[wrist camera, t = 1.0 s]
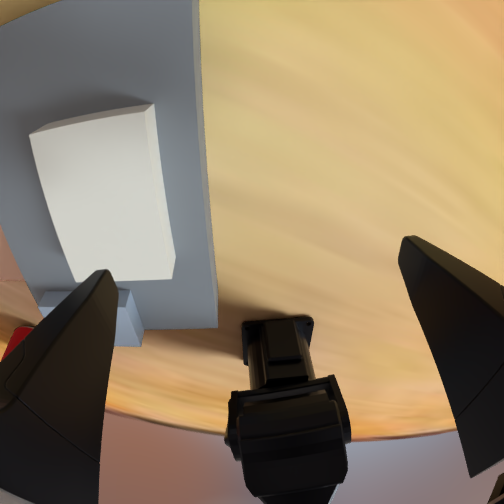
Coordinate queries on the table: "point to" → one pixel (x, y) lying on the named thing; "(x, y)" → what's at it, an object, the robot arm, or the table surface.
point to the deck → (103, 99)
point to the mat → (8, 262)
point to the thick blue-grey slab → (127, 316)
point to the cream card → (107, 193)
